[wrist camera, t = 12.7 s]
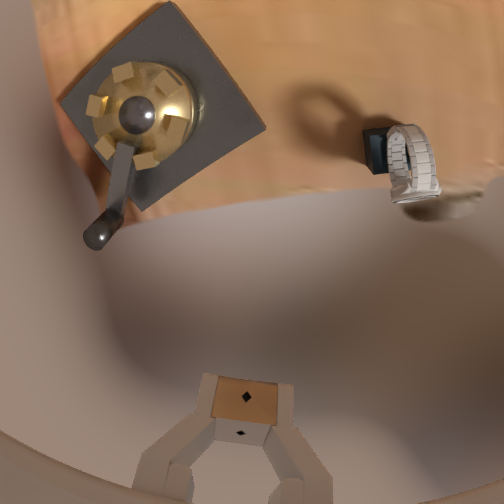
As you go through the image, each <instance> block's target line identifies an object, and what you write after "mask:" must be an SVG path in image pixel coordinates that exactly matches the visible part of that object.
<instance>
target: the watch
mask: <svg viewBox="0 0 504 504" xmlns="http://www.w3.org/2000/svg"><path fill="white" fill-rule="evenodd" d="M362 131H363V138H364V146H365V154H366V163H367V167H368V168H369V169H370V171H371V172H372V173H373V175H376V174H383V173H390V174H389V175H390V180H391V181H392V182H391V183H392V187H393V188H392V189H391V191H390V192H391V198H392V200H391V202H392V203H405V202H413V201H419V200H425V199H429V198H433V197H436V196H439V195H440V192H441V186H440V185H439V183H438V179H436V167H435V160H434V155H433V151H432V148H431V145H430V143H429V141H428V138H427V136H426V135H425V133H424V131H423V130H422V129H421V128H420V127H419V126H417V124H405V125H395V126H393V127H387V128H377V129H368V130H362ZM425 151H427V152H425ZM429 154H430V155H429ZM423 162H426V163H423ZM408 170H411V176H412V178H411V177H410V174H409V171H408ZM399 177H400V178H399ZM410 178H411V179H410Z"/></svg>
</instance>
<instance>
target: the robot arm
mask: <svg viewBox="0 0 504 504" xmlns="http://www.w3.org/2000/svg"><path fill="white" fill-rule="evenodd" d="M293 390H294V389H293V385H291V384H280V383H274V382H263V381H254V380H245V379H238V378H231V377H226V376H220V375H214V374H209V373H204V374H203V377H202V381H201V385H200V389H199V393H198V397H197V401H196V406H195V410H194V414H191V413H189V414H188V415H187V416H186V417H184V418H183V419H182V420H181V421H180V422H179V423H178V424H176V425H175V426H174V427H173V428H172V429H170V430H169V431H168V432H167V433H166V434H165V435H164V436H162V437H161V438H160V439H158V440H157V441H156V442H155V443H154V444H153V445H151V446H150V447H149V448H148V449H146V450H145V451H144V452H143V453H142V454H141V458H140V461H139V464H138V468H137V471H136V474H135V478H134V481H133V485H132V488H128V487H125V486H122V485H119V484H116V483H112V482H110V481H106V480H104V479H101V478H98V477H96V476H93V475H91V474H88V473H85V472H83V471H81V470H78V469H76V468H73V467H71V466H69V465H66V464H64V463H62V462H60V461H57V460H55V459H53V458H51V457H49V456H46V455H45V454H43V453H41V452H39V451H37V450H35V449H33V448H31V447H29V446H27V445H25V444H24V443H22V442H20V441H18V440H16V439H15V438H13V437H11V436H9V435H8V434H6V433H4V432H3V431H1V430H0V504H192V498H193V492H194V482H193V476H192V470H191V468H190V466H191V465H192V464H193V463H194V462H195V461H196V460H197V459H198V458H199V457H200V455H202V453H203V452H204V451H205V450H206V449H207V448H208V447H209V446H210V445H211V444H212V443H213V442H214V440H219V441H226V442H235V443H242V444H249V445H256V446H263V449H264V451H265V453H266V455H267V457H268V459H269V461H270V462H271V464H272V466H273V468H274V470H275V472H276V474H277V475H278V477H279V479H280V481H281V483H280V484H279V486H278V487H277V488H276V489H275V490H274V491H273V493H272V494H271V495H270V496H269V501H268V504H333V478H332V476H331V475H330V474H329V472H328V471H327V469H326V468H325V467H324V465H323V464H322V462H321V461H320V460H319V458H318V457H317V455H316V454H315V453H314V451H313V450H312V448H311V447H310V445H309V444H308V442H307V441H306V439H305V438H304V437H303V435H302V434H301V432H300V431H299V429H298V428H296V427H293V400H294V391H293ZM417 504H504V478H502V479H500V480H497V481H495V482H492V483H489V484H486V485H483V486H481V487H477V488H474V489H471V490H468V491H464V492H461V493H458V494H454V495H451V496H447V497H443V498H439V499H435V500H430V501H426V502H421V503H417Z"/></svg>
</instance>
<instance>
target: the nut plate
mask: <svg viewBox="0 0 504 504" xmlns="http://www.w3.org/2000/svg"><path fill="white" fill-rule="evenodd" d="M131 61H136V62H159V63H164V64H167V65H170V66H172V67H174V68H176V69H177V70H179V71H180V72H181V73H182V74H184V75H185V76H186V78H187V79H188V80H189V82H190V83H191V85H192V87H193V89H194V91H195V94H196V98H197V104H198V114H197V120H196V124H195V127H194V129H193V132H192V133H191V135H190V137H189V138H188V139H187V141H186V142H185V143H184V144H183V145H182V146H181V147H180V148H179V149H177V150H176V151H175V152H174V153H173V154H171V155H170V156H169V157H168V158H166V159H164V160H163V161H161V162H160V163H159V164H158V165H157V166H156V167H152V168H147V169H142V170H136V167H135V165H134V169H133V174H132V179H131V184H130V188H129V193H128V196H129V197H130V198H131V199H132V201H133V202H134V203H135V204H136V206H137V207H138V208H139V209H140V211H141V212H142V211H144V210H145V209H146V208H148V207H149V206H151V205H152V204H153V203H155V202H156V201H157V200H159V199H160V198H162V197H163V196H164V195H166V194H167V193H169V192H170V191H172V190H173V189H174V188H176V187H177V186H179V185H180V184H182V183H183V182H185V181H186V180H188V179H189V178H190V177H192V176H193V175H195V174H196V173H198V172H199V171H201V170H202V169H204V168H205V167H207V166H209V165H210V164H212V163H213V162H215V161H216V160H218V159H219V158H221V157H222V156H224V155H226V154H227V153H229V152H230V151H232V150H234V149H235V148H237V147H238V146H240V145H242V144H243V143H245V142H246V141H248V140H250V139H251V138H253V137H255V136H256V135H258V134H260V133H261V132H263V131H265V130H266V125H265V124H264V122H263V121H262V119H261V118H260V116H259V115H258V113H257V112H256V111H255V109H254V108H253V106H252V105H251V103H250V102H249V100H248V99H247V97H246V96H245V95H244V93H243V92H242V90H241V89H240V88H239V86H238V85H237V83H236V82H235V81H234V79H233V78H232V76H231V75H230V74H229V72H228V71H227V69H226V68H225V67H224V65H223V64H222V63H221V61H220V60H219V59H218V57H217V56H216V55H215V53H214V52H213V51H212V49H211V48H210V47H209V45H208V44H207V43H206V41H205V40H204V39H203V38H202V36H201V35H200V34H199V32H198V31H197V30H196V29H195V27H194V26H193V25H192V24H191V22H190V21H189V20H188V19H187V17H186V16H185V15H184V14H183V12H182V11H181V10H180V9H179V7H178V6H177V5H176V4H175V3H173V2H171V1H168V2H167V3H166V4H164V5H163V6H162V7H160V8H159V9H158V10H156V11H155V12H154V13H152V14H151V15H150V16H149V17H147V18H146V19H145V20H144V21H142V22H141V23H140V24H139V25H138V26H136V27H135V28H134V29H133V30H132V31H131V32H129V33H128V34H127V35H126V36H125V37H124V38H123V39H122V40H120V41H119V42H118V43H117V44H116V45H115V46H114V47H113V48H112V49H111V50H110V51H109V52H108V53H106V54H105V55H104V56H103V57H102V58H101V59H100V60H99V61H98V62H97V63H96V64H95V65H94V66H93V67H92V68H91V69H90V70H89V71H88V73H87V74H86V75H85V76H84V77H83V78H82V79H81V80H80V81H79V82H78V83H77V84H76V85H75V87H74V88H73V89H72V90H71V91H70V92H69V93H68V94H67V96H66V97H65V98H64V99H63V100H62V101H61V103H60V105H61V106H62V107H63V109H64V110H65V112H66V113H67V115H68V116H69V117H70V119H71V120H72V122H73V123H74V124H75V126H76V127H77V128H78V130H79V131H80V133H81V134H82V135H83V137H84V138H85V139H86V141H87V142H88V143H89V145H90V146H91V147H92V149H93V150H94V151H95V153H96V154H97V155H98V157H99V158H100V159H101V161H102V162H103V163H104V165H105V166H106V167H107V169H108V170H109V171H110V173H112V167H113V162H114V157H112V158H110V159H109V160H106V159H105V158H104V157H103V156H102V155H101V153H100V152H99V151H98V150H97V149H96V148H95V147H94V146H95V144H96V143H97V142H98V141H99V140H98V138H97V136H96V133H95V130H94V126H93V119H92V116H89V115H86V110H87V105H88V100H89V96H90V94H94V93H97V91H98V89H99V88H100V86H101V84H102V83H103V82H104V80H105V79H106V78H107V77H108V76H109V75H110V74H111V73H112V68H114V67H117V66H120V65H122V64H125V63H128V62H131Z"/></svg>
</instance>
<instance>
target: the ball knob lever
mask: <svg viewBox="0 0 504 504" xmlns="http://www.w3.org/2000/svg"><path fill="white" fill-rule="evenodd" d="M197 114H198V104H197V98H196V94H195V91H194V89H193V87H192V85H191V83H190V82H189V80H188V79H187V78H186V76H185V75H184V74H182V73H181V72H180V71H179V70H177V69H176V68H174V67H172V66H170V65H167V64H164V63H159V62H136V61H131V62H128V63H125V64H122V65H120V66H117V67H114V68H112V73H111V74H110V75H109V76H108V77H107V78H106V79H105V80H104V82H103V83H102V84H101V86H100V88H99V89H98V91H97V93H94V94H90V96H89V100H88V105H87V110H86V115H89V116H92V119H93V126H94V130H95V133H96V136H97V138H98V140H99V141H98V142H97V143H96V144H95V146H94V147H95V148H96V149H97V150H98V151H99V152H100V153H101V155H102V156H103V157H104V158H105V159H106V160H109V159H110V158H112V157H114V162H113V167H112V173H111V178H110V184H109V191H108V197H107V204H106V210H105V211H104V212H103V213H102V214H101V215H100V216H99V217H98V218H97V219H96V220H95V221H94V222H93V223H92V224H91V225H90V226H89V227H88V228H87V229H86V230H85V231H84V233H83V239H84V242H85V243H86V245H87V246H88V247H89V248H91V249H92V250H101V249H102V248H103V247H104V245H105V244H106V243H107V242H108V241H109V240H110V238H111V237H112V236H113V235H114V234H115V233H116V231H117V230H119V229H120V227H121V226H122V225H123V222H124V215H125V209H126V204H127V199H128V193H129V188H130V184H131V179H132V174H133V169H134V165H135V167H136V170H142V169H147V168H152V167H156V166H157V165H158V164H159V163H160V162H161V161H163V160H164V159H166V158H168V157H169V156H170V155H171V154H173V153H174V152H175V151H176V150H177V149H179V148H180V147H181V146H182V145H183V144H184V143H185V142H186V141H187V139H188V138H189V137H190V135H191V133H192V132H193V129H194V127H195V124H196V120H197Z"/></svg>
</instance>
